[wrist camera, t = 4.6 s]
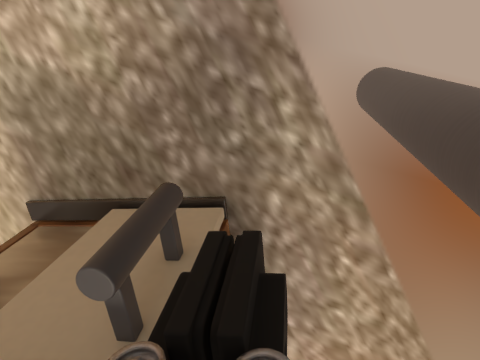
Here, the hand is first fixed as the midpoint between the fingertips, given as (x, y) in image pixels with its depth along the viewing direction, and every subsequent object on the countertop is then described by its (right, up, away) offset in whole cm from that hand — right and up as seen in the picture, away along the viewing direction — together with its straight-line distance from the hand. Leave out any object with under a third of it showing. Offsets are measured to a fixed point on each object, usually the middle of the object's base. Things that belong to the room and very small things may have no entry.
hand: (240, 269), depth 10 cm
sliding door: (-5, +2, +12) cm, 13 cm away
